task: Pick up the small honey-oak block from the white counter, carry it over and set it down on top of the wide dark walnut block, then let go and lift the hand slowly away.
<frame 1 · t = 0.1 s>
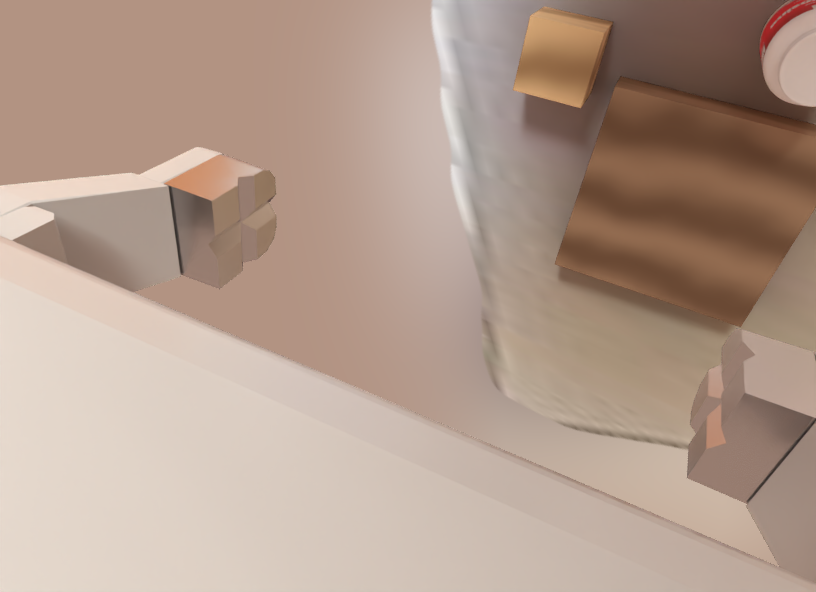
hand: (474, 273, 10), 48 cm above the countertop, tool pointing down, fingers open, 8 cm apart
pill bottle: (805, 35, 45), on the countertop
walnut block: (684, 196, 55), on the countertop
oak block: (568, 50, 52), on the countertop
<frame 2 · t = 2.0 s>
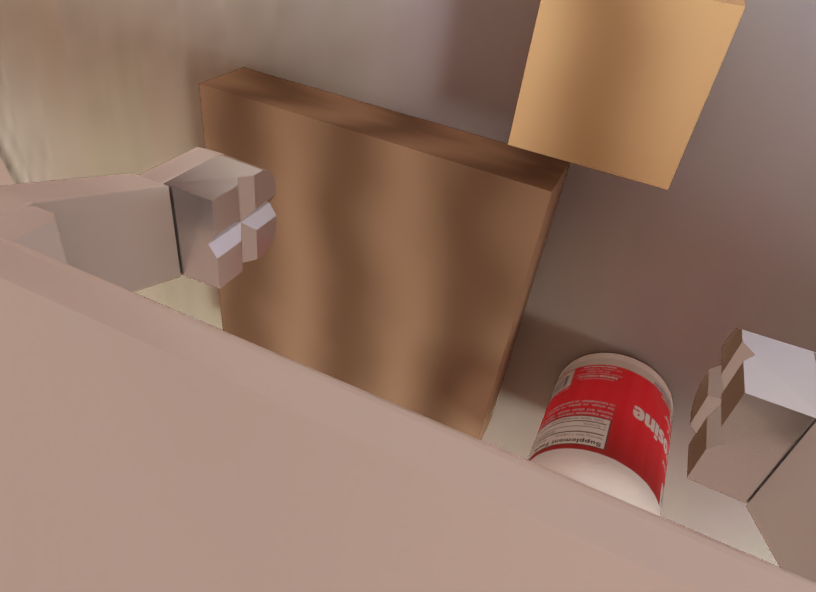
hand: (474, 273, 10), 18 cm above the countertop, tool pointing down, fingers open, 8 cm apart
pill bottle: (614, 390, 33), on the countertop
walnut block: (381, 255, 35), on the countertop
oak block: (630, 53, 24), on the countertop
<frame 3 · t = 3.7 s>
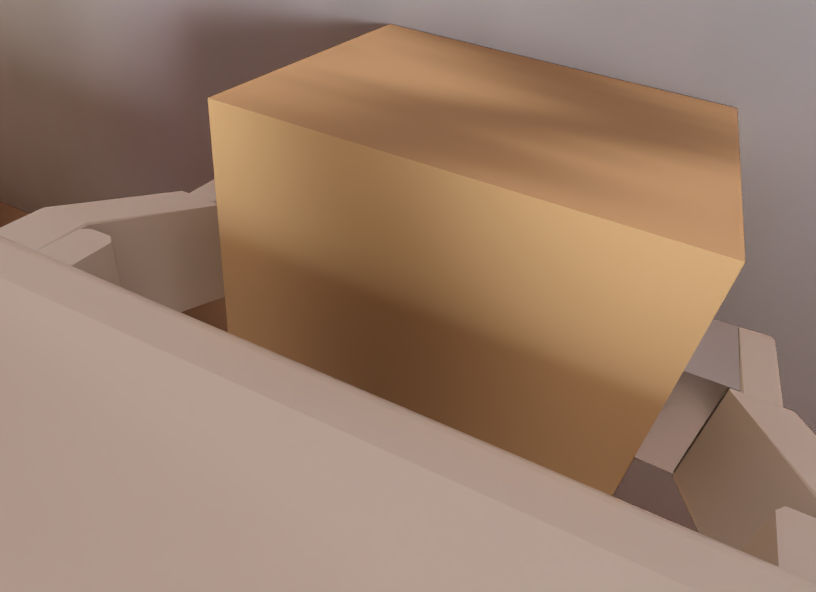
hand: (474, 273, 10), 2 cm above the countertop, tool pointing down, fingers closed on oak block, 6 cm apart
walnut block: (191, 443, 23), on the countertop
oak block: (510, 217, 12), on the countertop, touching gripper
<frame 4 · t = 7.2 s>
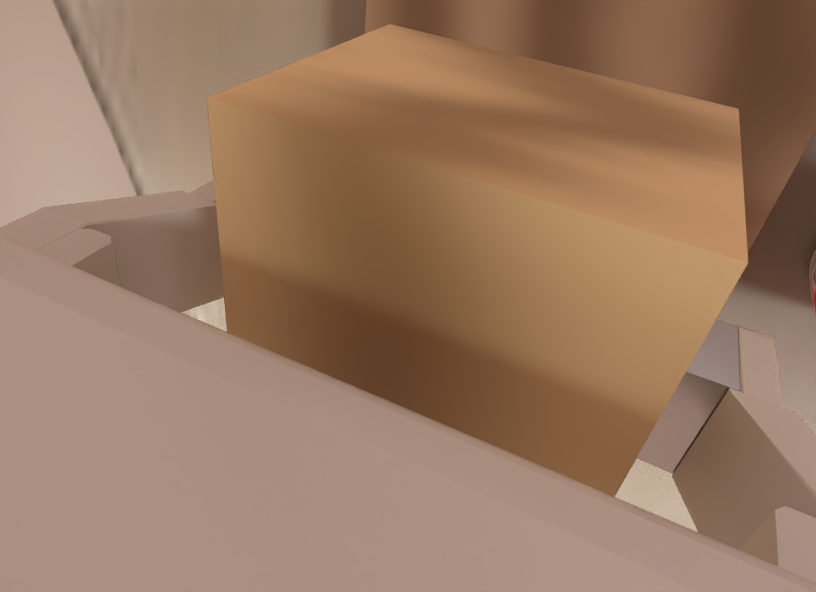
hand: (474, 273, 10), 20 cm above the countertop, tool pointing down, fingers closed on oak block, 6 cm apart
walnut block: (571, 102, 28), on the countertop
oak block: (510, 218, 12), point 18 cm above the countertop, touching gripper
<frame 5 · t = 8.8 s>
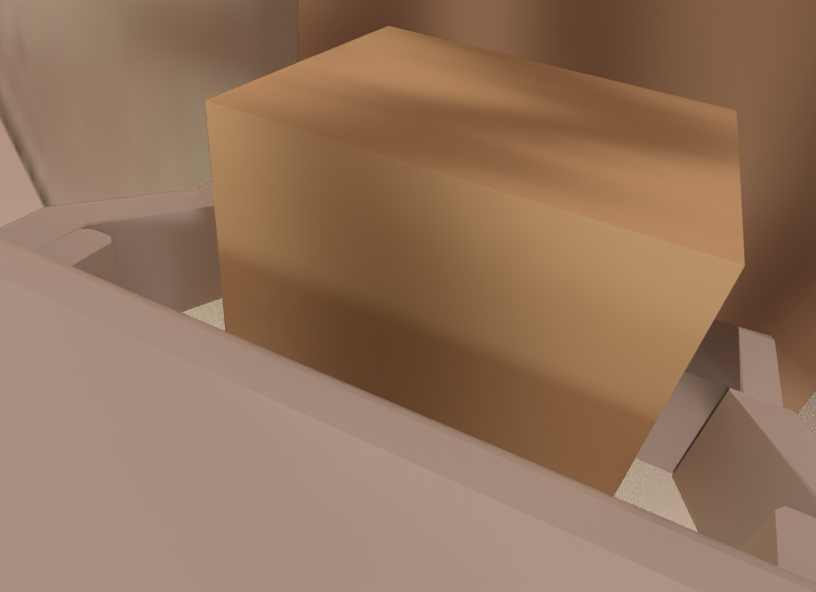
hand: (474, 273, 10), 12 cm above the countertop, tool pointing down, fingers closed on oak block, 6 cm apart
walnut block: (600, 84, 19), on the countertop
oak block: (509, 219, 12), point 10 cm above the countertop, touching gripper
when the fingers open (8 cm above the countertop, at t = 10.5 s): oak block drops 2 cm, resting on walnut block.
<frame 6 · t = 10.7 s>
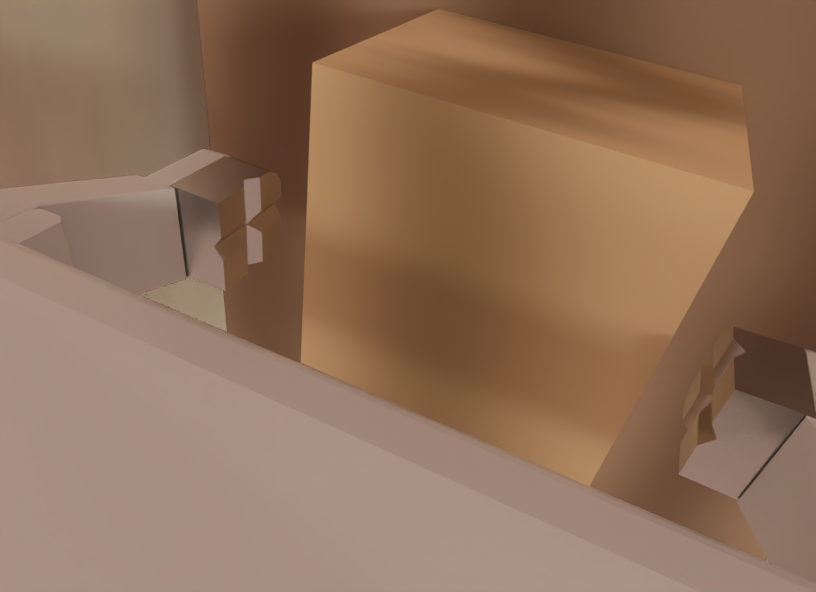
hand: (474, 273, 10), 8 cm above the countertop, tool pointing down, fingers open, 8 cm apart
walnut block: (566, 127, 16), on the countertop, touching oak block
oak block: (538, 183, 13), point 3 cm above the countertop, touching walnut block
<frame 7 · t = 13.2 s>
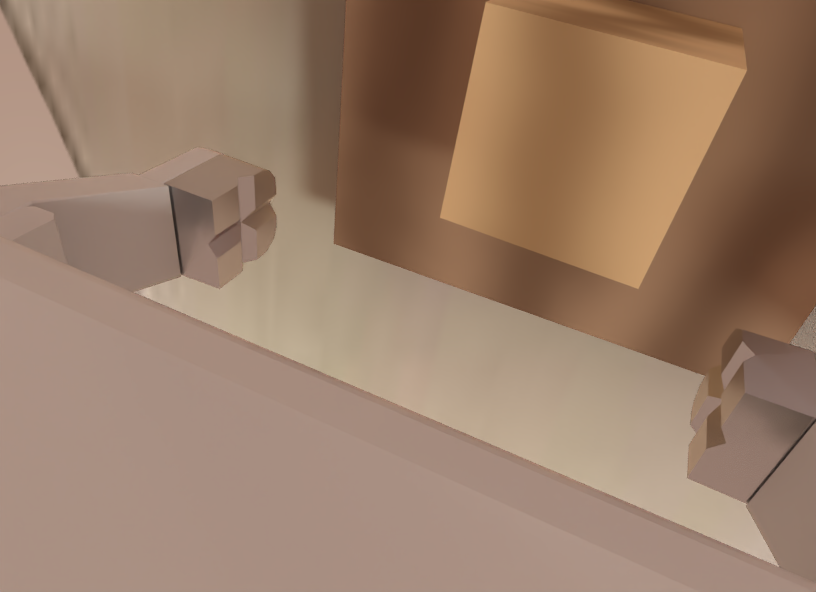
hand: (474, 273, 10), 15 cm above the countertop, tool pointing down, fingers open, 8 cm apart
walnut block: (609, 66, 22), on the countertop, touching oak block
oak block: (598, 102, 19), point 3 cm above the countertop, touching walnut block
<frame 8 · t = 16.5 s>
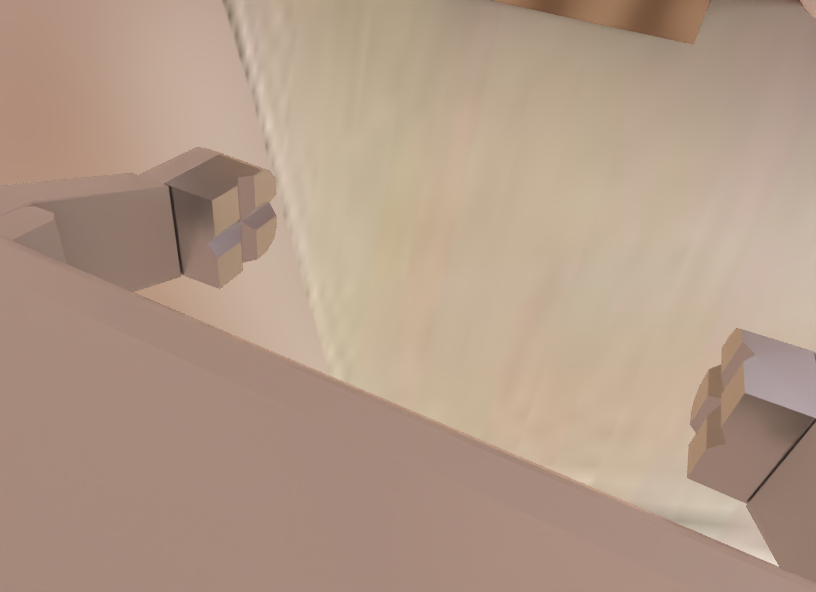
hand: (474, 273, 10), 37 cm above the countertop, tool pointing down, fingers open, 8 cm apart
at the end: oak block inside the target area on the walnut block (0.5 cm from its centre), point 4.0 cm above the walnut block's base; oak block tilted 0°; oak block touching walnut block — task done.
